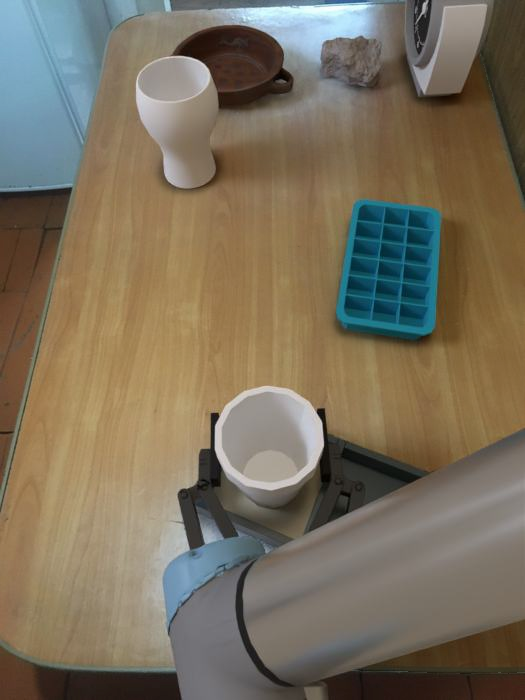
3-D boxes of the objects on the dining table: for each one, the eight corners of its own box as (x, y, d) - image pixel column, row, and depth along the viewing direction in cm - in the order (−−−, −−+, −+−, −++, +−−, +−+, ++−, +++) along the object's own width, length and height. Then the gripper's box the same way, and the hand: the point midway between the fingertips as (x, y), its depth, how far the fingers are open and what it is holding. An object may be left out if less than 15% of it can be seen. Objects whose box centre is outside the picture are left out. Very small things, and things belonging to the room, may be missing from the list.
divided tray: (444, 491, 58) (454, 481, 55) (414, 607, 53) (422, 604, 50) (242, 413, 63) (240, 400, 60) (195, 512, 58) (190, 503, 55)
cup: (147, 193, 81) (121, 102, 68) (163, 143, 86) (142, 50, 73) (218, 199, 80) (206, 108, 67) (230, 148, 85) (222, 55, 72)
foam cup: (208, 487, 58) (191, 445, 47) (261, 421, 62) (257, 367, 50) (281, 543, 55) (282, 513, 44) (332, 470, 59) (345, 425, 47)
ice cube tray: (435, 224, 76) (441, 208, 74) (428, 348, 67) (434, 336, 64) (352, 213, 78) (354, 197, 75) (332, 333, 68) (334, 320, 65)
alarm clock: (393, 45, 97) (419, -92, 79) (442, 42, 97) (478, -95, 79) (413, 112, 88) (447, -25, 70) (466, 109, 88) (513, -29, 70)
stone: (379, 92, 90) (385, 58, 85) (319, 92, 91) (320, 58, 86) (378, 62, 94) (383, 28, 89) (320, 62, 95) (321, 28, 90)
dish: (185, 44, 98) (180, 16, 94) (305, 61, 95) (307, 32, 91) (150, 106, 90) (144, 78, 86) (281, 127, 87) (281, 99, 83)
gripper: (148, 681, 47) (162, 434, 58) (410, 671, 47) (374, 425, 58) (127, 685, 40) (148, 405, 51) (431, 673, 40) (386, 395, 51)
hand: (268, 415), depth 55 cm, fingers open, 10 cm apart
